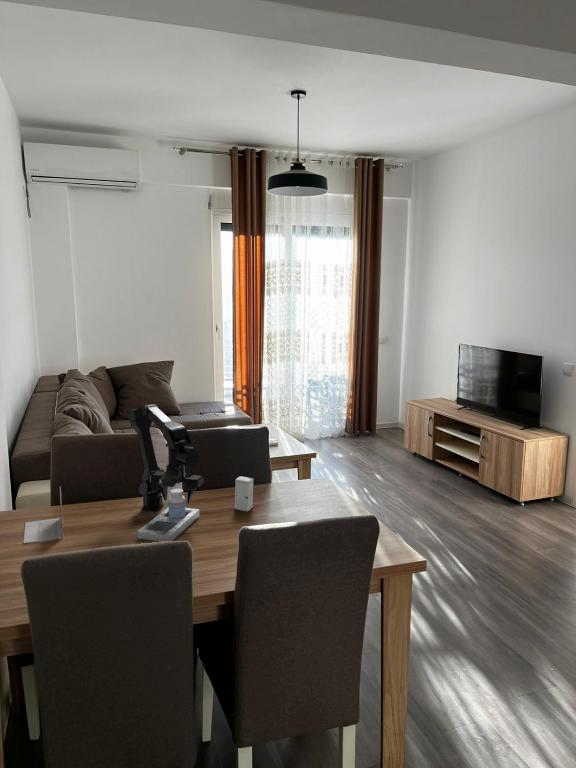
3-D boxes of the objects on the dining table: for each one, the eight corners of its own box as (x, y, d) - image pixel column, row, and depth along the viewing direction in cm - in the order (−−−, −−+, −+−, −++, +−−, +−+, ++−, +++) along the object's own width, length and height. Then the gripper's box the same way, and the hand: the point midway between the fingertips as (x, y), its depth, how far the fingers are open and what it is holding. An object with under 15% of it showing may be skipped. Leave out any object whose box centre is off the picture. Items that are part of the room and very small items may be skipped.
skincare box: (234, 509, 226) (234, 479, 223) (239, 505, 230) (239, 475, 228) (248, 511, 223) (248, 481, 221) (253, 507, 227) (253, 478, 225)
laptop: (25, 524, 209) (23, 489, 207) (62, 519, 214) (60, 485, 212) (23, 545, 193) (20, 507, 191) (63, 539, 198) (61, 503, 195)
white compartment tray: (137, 539, 198) (137, 531, 197) (170, 513, 221) (169, 505, 220) (170, 544, 195) (169, 535, 194) (199, 517, 217) (199, 509, 217)
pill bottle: (171, 524, 209) (170, 494, 207) (166, 518, 215) (166, 489, 213) (187, 521, 212) (187, 492, 210) (182, 515, 217) (182, 486, 215)
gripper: (141, 464, 204) (143, 506, 207) (190, 470, 199) (191, 513, 202) (157, 455, 215) (158, 496, 217) (203, 460, 210) (204, 501, 213)
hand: (177, 501), depth 212 cm, fingers open, 9 cm apart
